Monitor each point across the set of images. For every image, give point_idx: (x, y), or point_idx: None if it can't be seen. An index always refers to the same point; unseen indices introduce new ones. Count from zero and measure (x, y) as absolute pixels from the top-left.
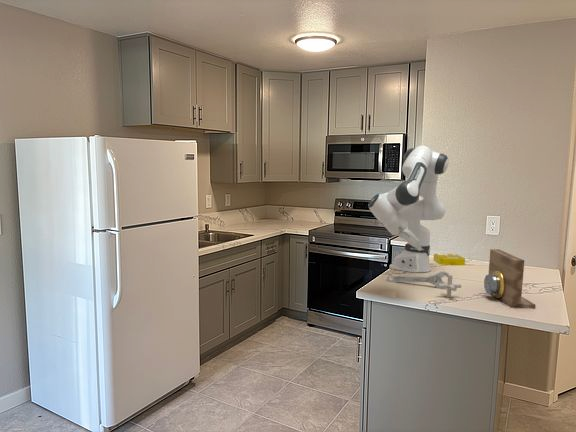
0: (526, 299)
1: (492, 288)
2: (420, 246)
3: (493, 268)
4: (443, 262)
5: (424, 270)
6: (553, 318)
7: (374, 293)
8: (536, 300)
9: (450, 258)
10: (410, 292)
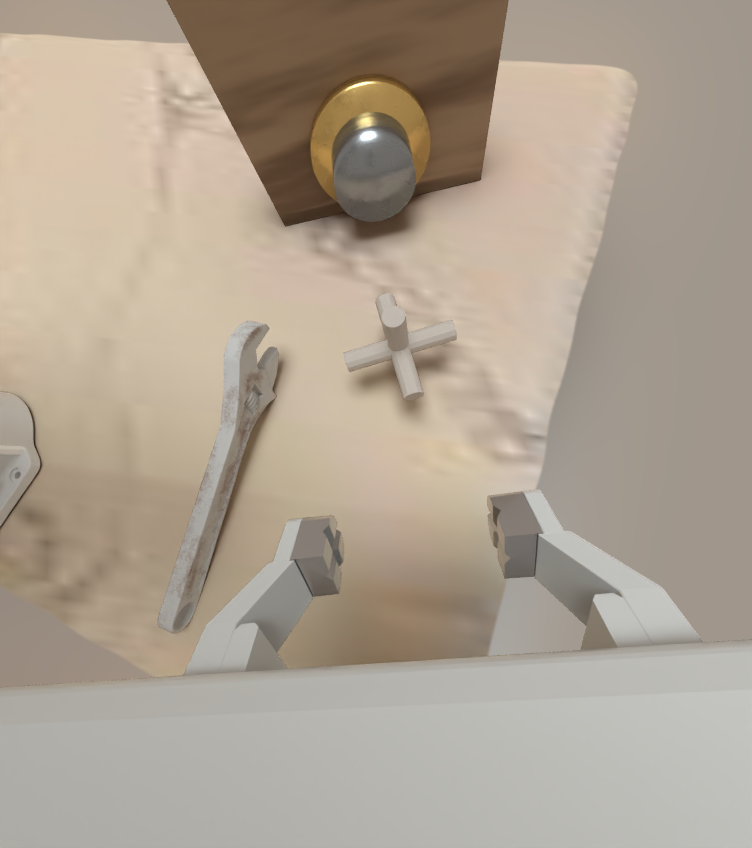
0: None
1: (414, 182)
2: (555, 518)
3: (279, 105)
4: None
5: (22, 420)
6: (564, 85)
7: None
8: None
9: None
10: (372, 528)
